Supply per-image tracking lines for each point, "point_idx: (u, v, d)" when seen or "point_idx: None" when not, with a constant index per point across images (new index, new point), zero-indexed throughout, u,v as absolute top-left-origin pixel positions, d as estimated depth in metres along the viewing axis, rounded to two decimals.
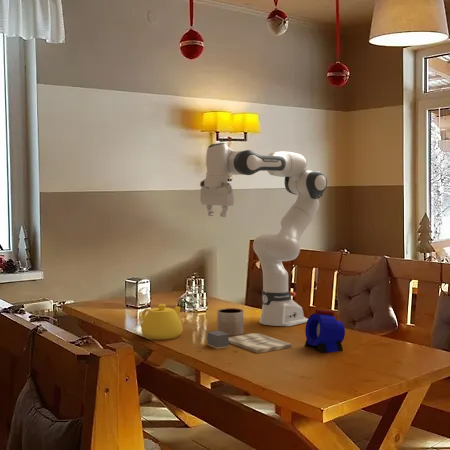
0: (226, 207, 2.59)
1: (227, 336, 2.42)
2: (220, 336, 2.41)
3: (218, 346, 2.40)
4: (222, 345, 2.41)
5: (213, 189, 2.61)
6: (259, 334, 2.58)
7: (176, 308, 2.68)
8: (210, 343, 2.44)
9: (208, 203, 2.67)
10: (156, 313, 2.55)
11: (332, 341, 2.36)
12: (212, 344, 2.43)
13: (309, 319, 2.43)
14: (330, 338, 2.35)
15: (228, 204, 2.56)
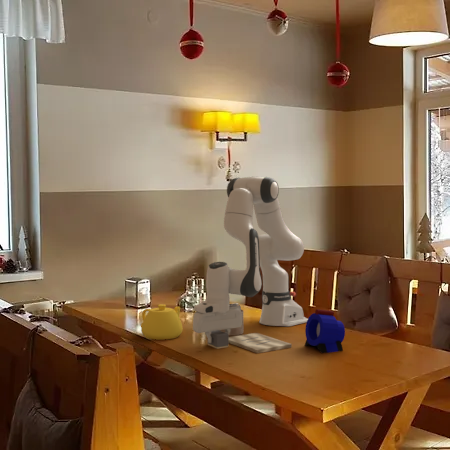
0: None
1: (227, 336, 2.42)
2: (220, 336, 2.41)
3: (218, 346, 2.40)
4: (222, 345, 2.41)
5: (225, 313, 2.42)
6: (259, 334, 2.58)
7: (176, 308, 2.68)
8: (210, 343, 2.44)
9: (212, 329, 2.41)
10: (156, 313, 2.55)
11: (332, 341, 2.36)
12: (212, 344, 2.43)
13: (309, 319, 2.43)
14: (330, 338, 2.35)
15: None
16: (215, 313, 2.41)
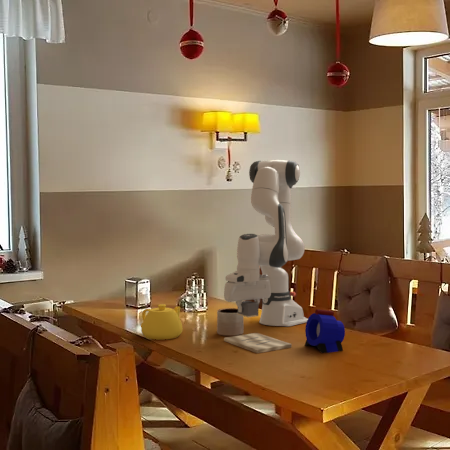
0: None
1: (257, 305, 2.49)
2: (250, 305, 2.47)
3: (248, 314, 2.47)
4: (252, 314, 2.48)
5: (255, 283, 2.49)
6: (259, 334, 2.58)
7: (176, 308, 2.68)
8: (240, 312, 2.51)
9: (242, 299, 2.47)
10: (156, 313, 2.55)
11: (332, 341, 2.36)
12: (242, 313, 2.50)
13: (309, 319, 2.43)
14: (330, 338, 2.35)
15: None
16: (246, 283, 2.47)
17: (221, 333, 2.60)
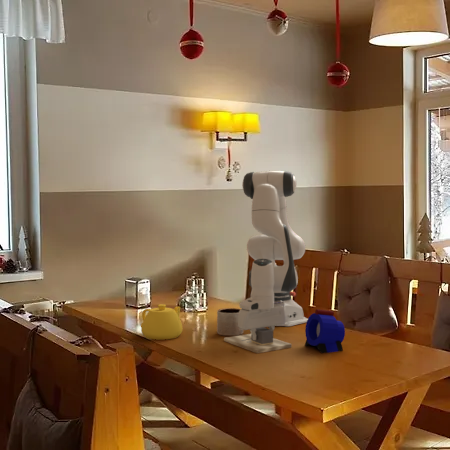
0: None
1: (272, 332, 2.42)
2: (265, 332, 2.40)
3: (263, 342, 2.40)
4: (267, 341, 2.41)
5: (270, 310, 2.42)
6: None
7: (176, 308, 2.68)
8: None
9: (257, 327, 2.40)
10: (156, 313, 2.55)
11: (332, 341, 2.36)
12: (256, 340, 2.43)
13: (309, 319, 2.43)
14: (330, 338, 2.35)
15: None
16: (260, 310, 2.40)
17: (221, 333, 2.60)
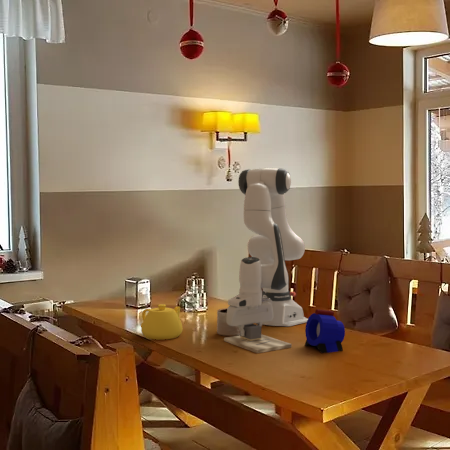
0: None
1: (260, 328, 2.48)
2: (253, 328, 2.47)
3: (251, 338, 2.46)
4: (255, 337, 2.47)
5: (257, 307, 2.49)
6: None
7: (176, 308, 2.68)
8: None
9: (245, 323, 2.47)
10: (156, 313, 2.55)
11: (332, 341, 2.36)
12: (245, 336, 2.49)
13: (309, 319, 2.43)
14: (330, 338, 2.35)
15: None
16: (248, 307, 2.47)
17: (221, 333, 2.60)
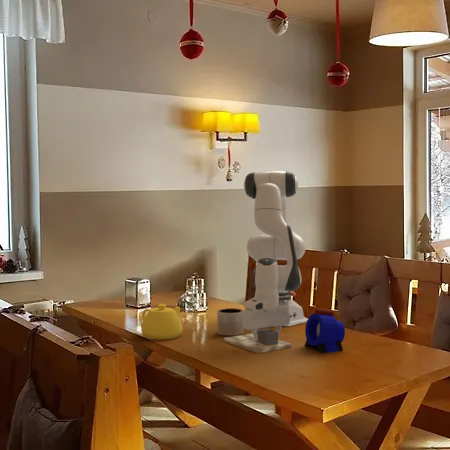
0: None
1: (277, 334, 2.40)
2: (270, 334, 2.38)
3: (268, 344, 2.38)
4: (272, 343, 2.39)
5: (274, 310, 2.40)
6: None
7: (176, 308, 2.68)
8: (259, 341, 2.42)
9: (261, 326, 2.38)
10: (156, 313, 2.55)
11: (332, 341, 2.36)
12: (261, 342, 2.40)
13: (309, 319, 2.43)
14: (330, 338, 2.35)
15: None
16: (264, 310, 2.38)
17: (221, 333, 2.60)
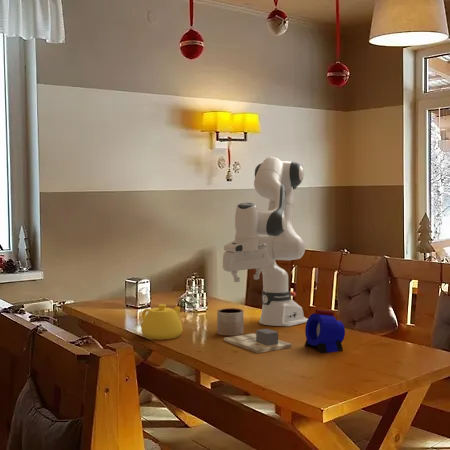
0: None
1: (277, 334, 2.40)
2: (270, 334, 2.38)
3: (268, 344, 2.38)
4: (272, 343, 2.39)
5: (254, 252, 2.47)
6: None
7: (176, 308, 2.68)
8: (259, 341, 2.42)
9: (241, 268, 2.46)
10: (156, 313, 2.55)
11: (332, 341, 2.36)
12: (261, 342, 2.40)
13: (309, 319, 2.43)
14: (330, 338, 2.35)
15: None
16: (244, 252, 2.46)
17: (221, 333, 2.60)
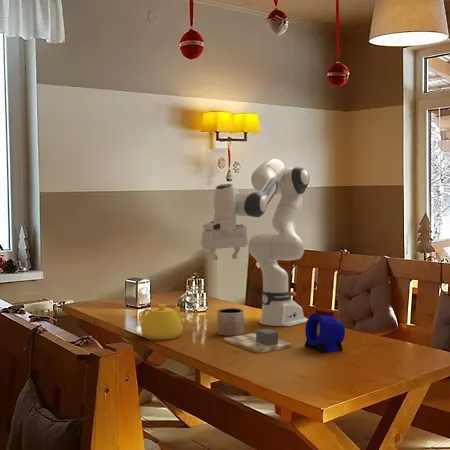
0: None
1: (277, 334, 2.40)
2: (270, 334, 2.38)
3: (268, 344, 2.38)
4: (272, 343, 2.39)
5: (232, 231, 2.56)
6: None
7: (176, 308, 2.68)
8: (259, 341, 2.42)
9: (219, 247, 2.55)
10: (156, 313, 2.55)
11: (332, 341, 2.36)
12: (261, 342, 2.40)
13: (309, 319, 2.43)
14: (330, 338, 2.35)
15: None
16: (222, 231, 2.55)
17: (221, 333, 2.60)
